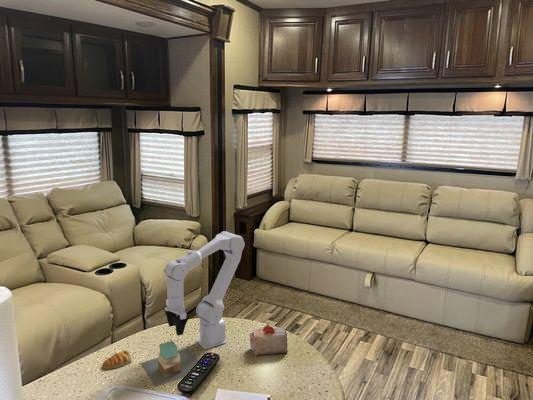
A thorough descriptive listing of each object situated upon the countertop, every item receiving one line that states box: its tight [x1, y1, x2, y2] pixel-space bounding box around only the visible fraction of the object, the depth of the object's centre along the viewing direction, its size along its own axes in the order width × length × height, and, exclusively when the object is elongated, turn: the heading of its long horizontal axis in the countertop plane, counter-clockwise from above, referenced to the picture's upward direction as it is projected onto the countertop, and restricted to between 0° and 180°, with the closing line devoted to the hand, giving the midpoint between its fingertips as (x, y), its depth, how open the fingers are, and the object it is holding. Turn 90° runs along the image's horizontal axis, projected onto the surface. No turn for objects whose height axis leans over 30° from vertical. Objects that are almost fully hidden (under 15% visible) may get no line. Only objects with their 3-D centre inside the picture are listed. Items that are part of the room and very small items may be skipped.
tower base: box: [158, 361, 181, 378], centre depth 139 cm, size 6×6×3 cm
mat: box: [140, 348, 200, 388], centre depth 142 cm, size 18×16×1 cm
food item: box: [249, 323, 288, 357], centre depth 152 cm, size 14×8×10 cm, turn 102°
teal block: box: [159, 340, 179, 360], centre depth 137 cm, size 4×4×4 cm
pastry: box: [102, 349, 133, 370], centre depth 143 cm, size 9×7×4 cm
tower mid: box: [158, 352, 180, 369], centre depth 138 cm, size 6×6×3 cm
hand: (176, 330), depth 147 cm, fingers open, 7 cm apart
